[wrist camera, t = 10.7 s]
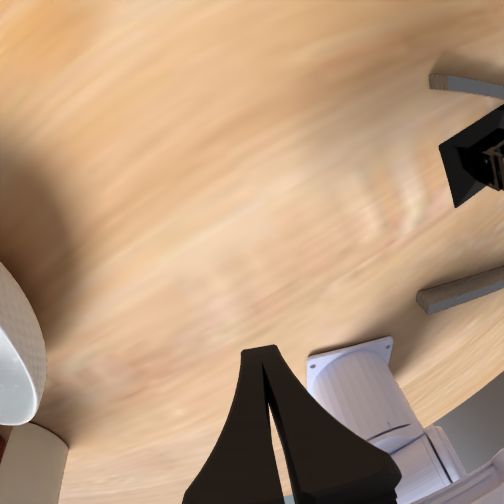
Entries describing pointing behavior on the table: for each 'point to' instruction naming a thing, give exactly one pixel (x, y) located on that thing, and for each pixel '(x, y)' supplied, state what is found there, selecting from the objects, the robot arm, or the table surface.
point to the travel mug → (32, 466)
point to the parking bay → (482, 282)
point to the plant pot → (1, 448)
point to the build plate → (475, 157)
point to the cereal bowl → (19, 354)
